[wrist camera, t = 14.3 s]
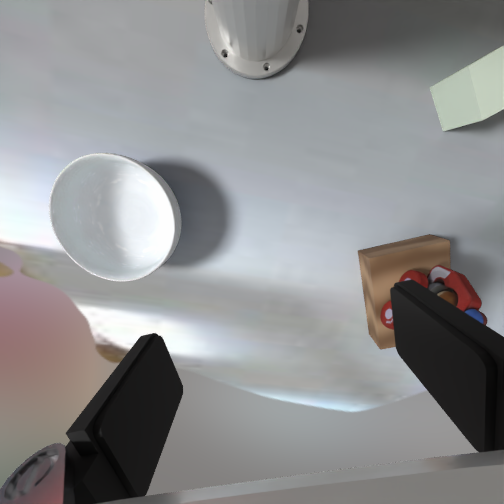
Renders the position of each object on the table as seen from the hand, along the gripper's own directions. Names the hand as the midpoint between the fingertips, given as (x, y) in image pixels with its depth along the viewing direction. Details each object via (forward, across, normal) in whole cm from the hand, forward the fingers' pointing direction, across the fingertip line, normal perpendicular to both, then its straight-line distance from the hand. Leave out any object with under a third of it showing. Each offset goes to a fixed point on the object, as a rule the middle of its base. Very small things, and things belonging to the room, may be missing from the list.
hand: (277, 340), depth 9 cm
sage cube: (+28, -29, -10) cm, 42 cm away
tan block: (+28, -19, +16) cm, 38 cm away
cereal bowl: (+29, +19, -6) cm, 35 cm away
